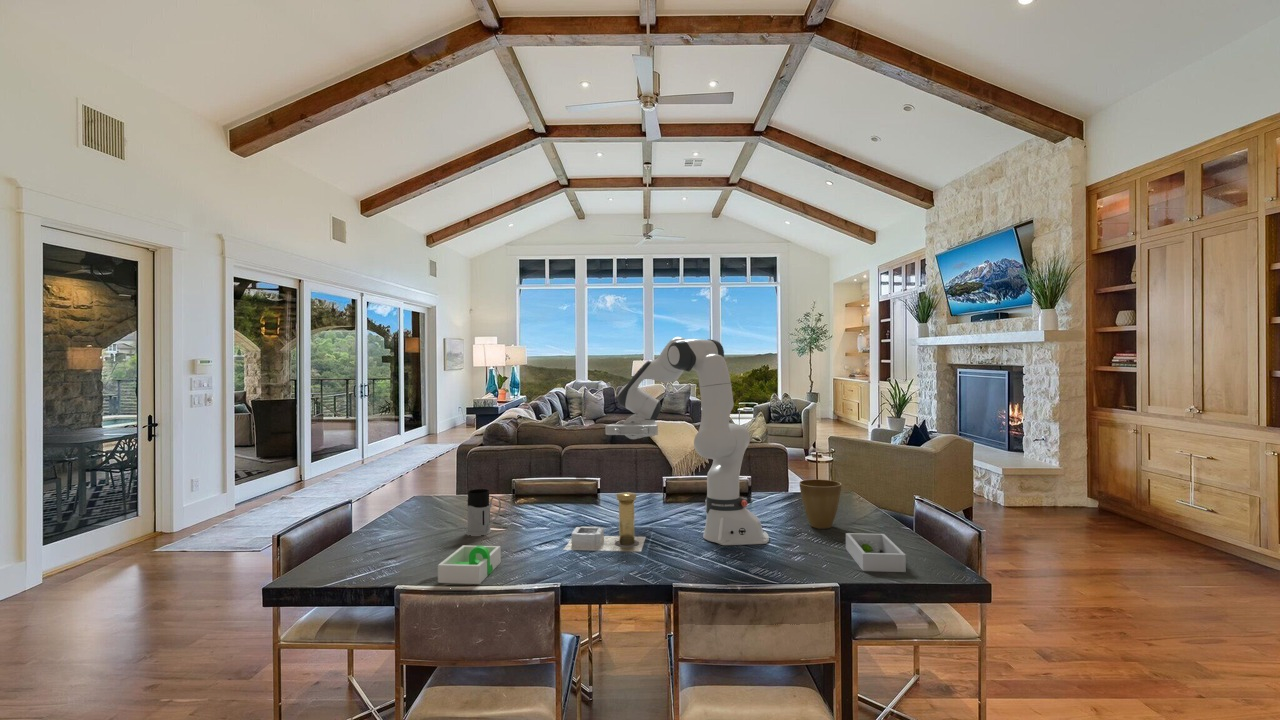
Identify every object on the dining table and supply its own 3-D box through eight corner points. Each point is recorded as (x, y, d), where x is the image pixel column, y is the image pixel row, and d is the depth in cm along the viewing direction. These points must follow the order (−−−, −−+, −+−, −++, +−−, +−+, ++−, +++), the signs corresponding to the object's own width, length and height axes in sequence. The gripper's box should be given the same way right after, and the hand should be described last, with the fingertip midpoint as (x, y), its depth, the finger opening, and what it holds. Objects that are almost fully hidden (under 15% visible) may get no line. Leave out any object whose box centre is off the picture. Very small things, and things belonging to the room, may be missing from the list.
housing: (645, 541, 208) (645, 525, 208) (641, 556, 192) (641, 538, 192) (573, 539, 210) (573, 523, 210) (563, 554, 194) (563, 537, 194)
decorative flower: (889, 545, 178) (856, 531, 192) (876, 561, 176) (844, 546, 191) (904, 562, 179) (871, 547, 193) (891, 579, 178) (859, 562, 192)
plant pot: (846, 524, 226) (845, 481, 226) (835, 533, 214) (835, 488, 214) (806, 518, 234) (806, 477, 234) (794, 528, 222) (793, 484, 222)
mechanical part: (494, 568, 181) (493, 541, 181) (488, 575, 175) (487, 547, 175) (454, 568, 182) (453, 541, 182) (447, 575, 176) (446, 548, 176)
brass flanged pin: (637, 540, 203) (637, 492, 203) (635, 546, 197) (635, 496, 197) (618, 540, 204) (618, 492, 204) (616, 545, 197) (615, 496, 197)
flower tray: (884, 549, 196) (883, 533, 196) (905, 572, 175) (905, 554, 175) (845, 548, 197) (845, 533, 197) (862, 571, 177) (862, 553, 177)
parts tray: (500, 562, 187) (500, 546, 187) (479, 584, 169) (479, 566, 169) (463, 561, 188) (462, 545, 188) (437, 582, 170) (437, 565, 170)
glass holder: (477, 528, 225) (477, 487, 225) (508, 532, 219) (508, 491, 219) (461, 534, 218) (460, 492, 218) (492, 539, 211) (492, 496, 211)
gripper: (607, 419, 242) (602, 423, 228) (659, 419, 240) (656, 423, 226) (607, 435, 242) (602, 440, 228) (659, 435, 240) (656, 440, 226)
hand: (629, 431), depth 227 cm, fingers open, 8 cm apart
